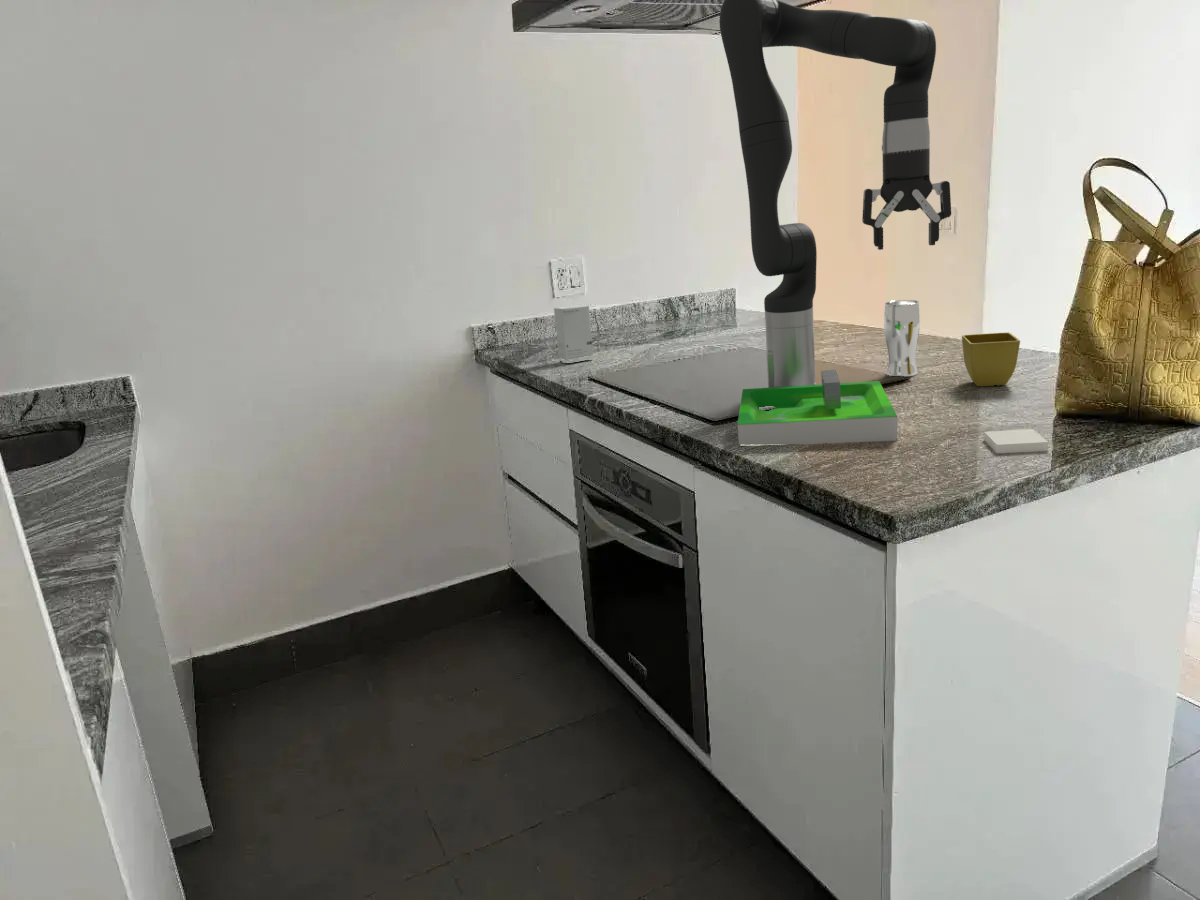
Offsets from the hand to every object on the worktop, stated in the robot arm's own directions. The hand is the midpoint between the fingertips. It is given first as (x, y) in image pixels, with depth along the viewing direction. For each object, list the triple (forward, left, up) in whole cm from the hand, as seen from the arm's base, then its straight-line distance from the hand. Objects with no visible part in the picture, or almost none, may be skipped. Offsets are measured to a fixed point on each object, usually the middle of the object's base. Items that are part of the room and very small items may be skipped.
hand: (906, 247), depth 151 cm
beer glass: (+3, +25, -28) cm, 38 cm away
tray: (-17, -10, -29) cm, 35 cm away
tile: (+8, -28, -28) cm, 40 cm away
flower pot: (+17, +12, -28) cm, 35 cm away
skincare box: (-75, +66, -28) cm, 104 cm away
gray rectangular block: (-14, -11, -24) cm, 30 cm away
